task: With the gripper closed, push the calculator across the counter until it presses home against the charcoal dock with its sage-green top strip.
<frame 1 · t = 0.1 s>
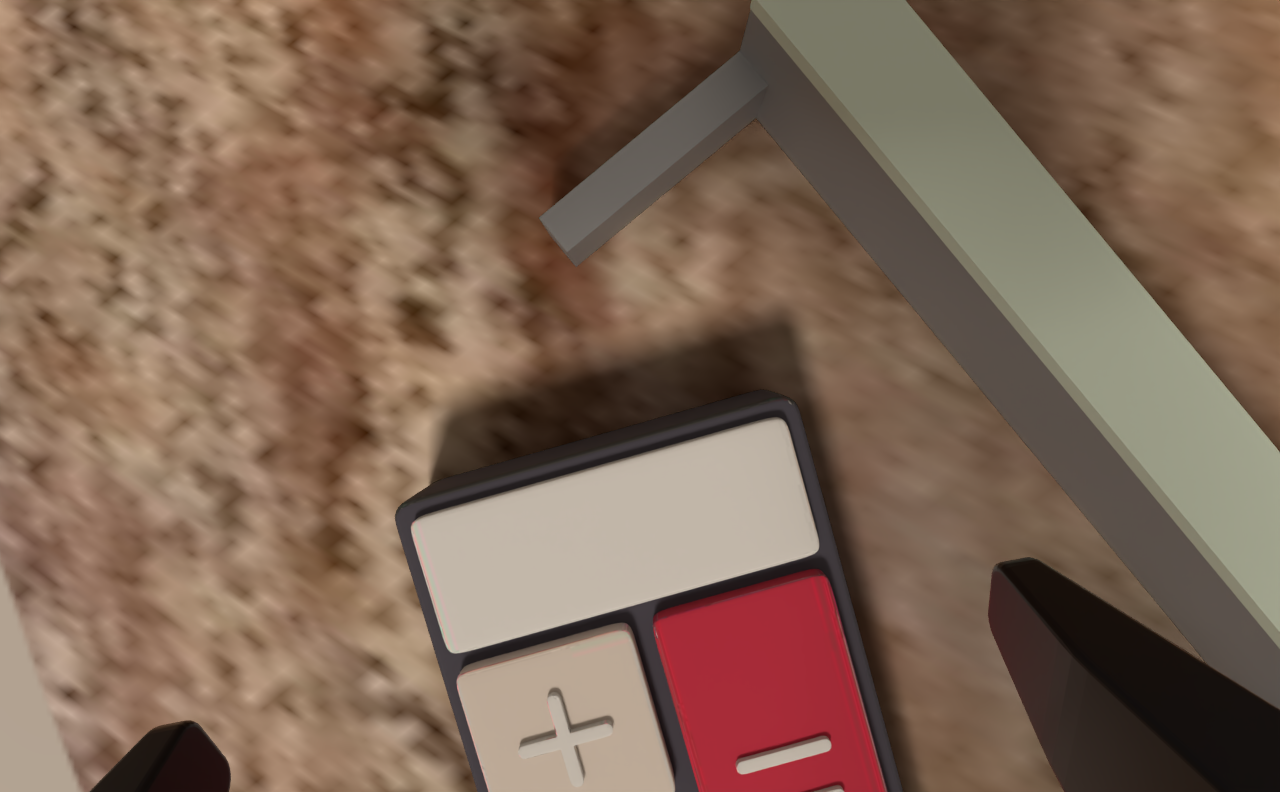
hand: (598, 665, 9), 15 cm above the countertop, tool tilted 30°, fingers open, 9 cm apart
calculator: (665, 669, 24), on the countertop
dock: (1039, 395, 23), on the countertop
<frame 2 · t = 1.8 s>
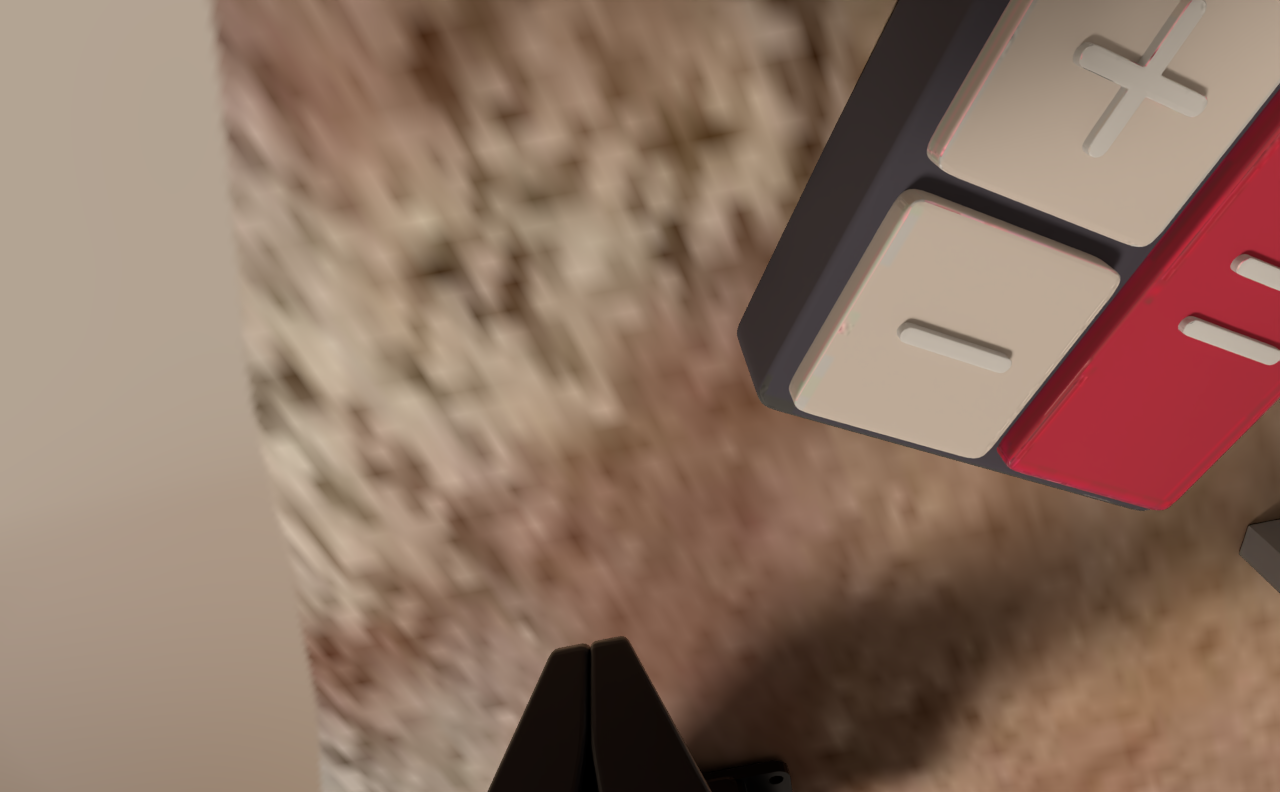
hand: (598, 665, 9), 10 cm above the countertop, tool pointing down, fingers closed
calculator: (1097, 106, 17), on the countertop
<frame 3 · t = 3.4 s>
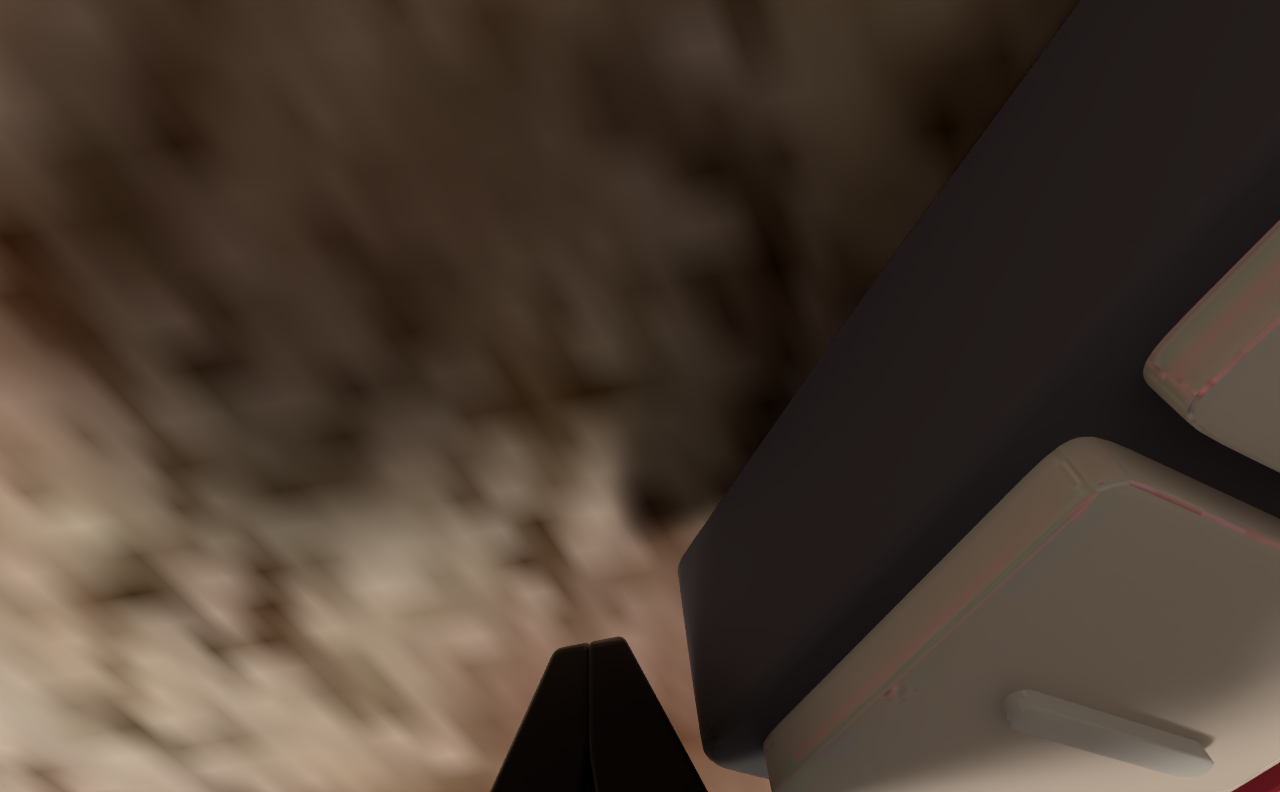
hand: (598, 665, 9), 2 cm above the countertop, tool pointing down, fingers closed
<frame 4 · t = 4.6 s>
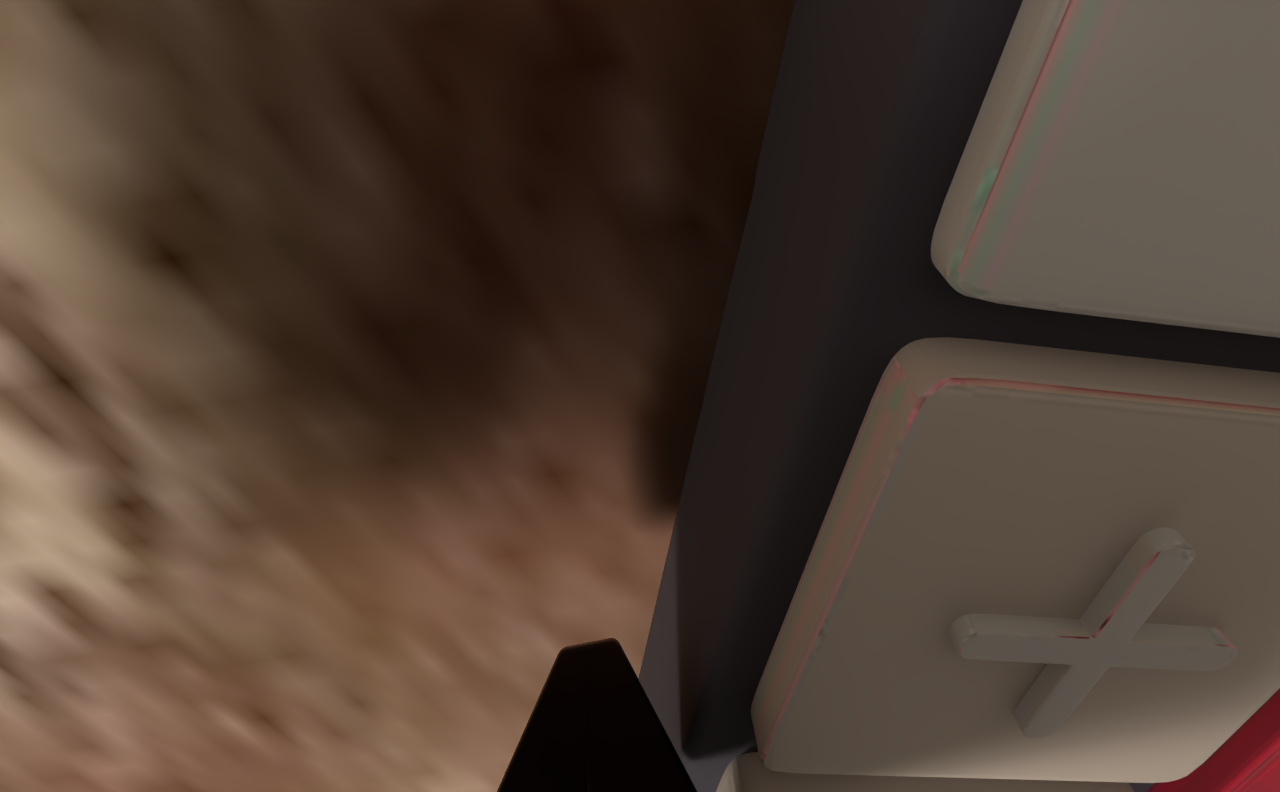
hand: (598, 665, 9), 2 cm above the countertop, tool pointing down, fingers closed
calculator: (1082, 426, 11), on the countertop, touching dock, gripper
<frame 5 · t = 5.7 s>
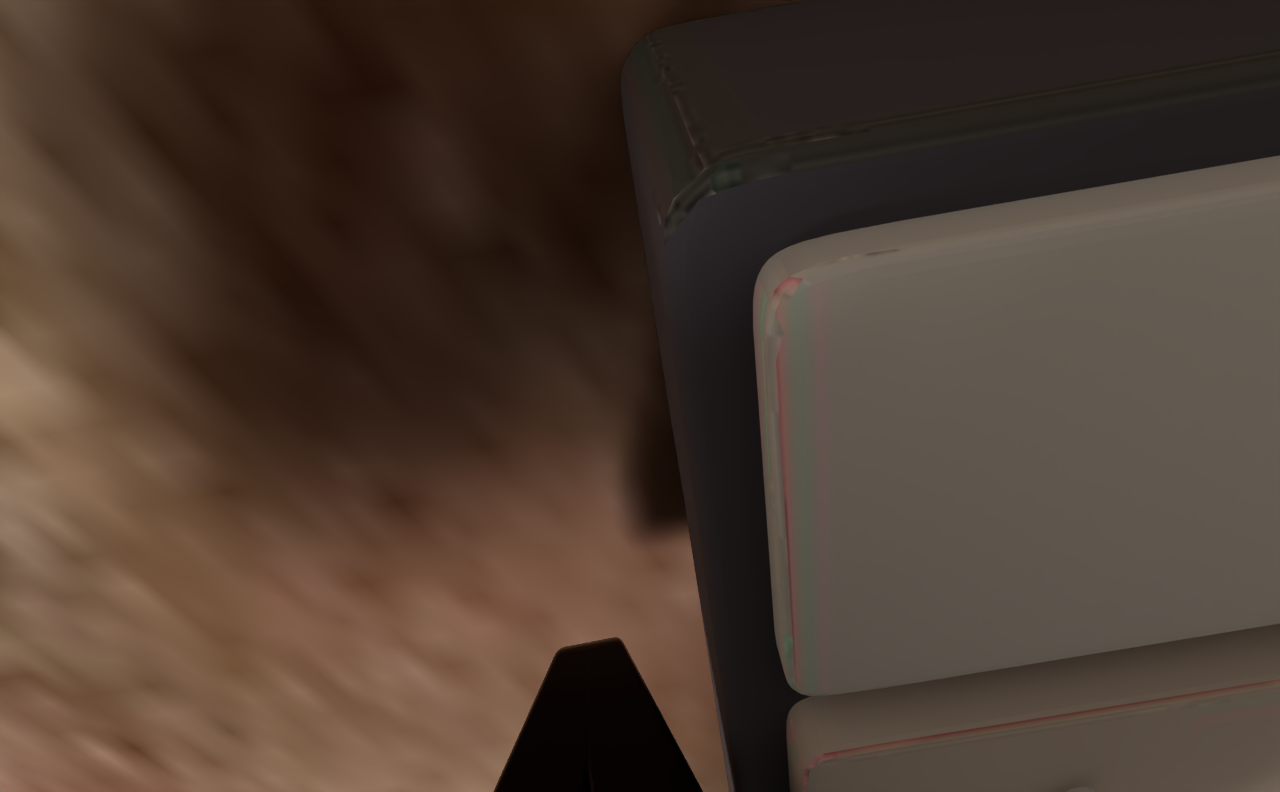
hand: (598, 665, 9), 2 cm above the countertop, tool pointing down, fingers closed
calculator: (1083, 539, 11), on the countertop, touching gripper
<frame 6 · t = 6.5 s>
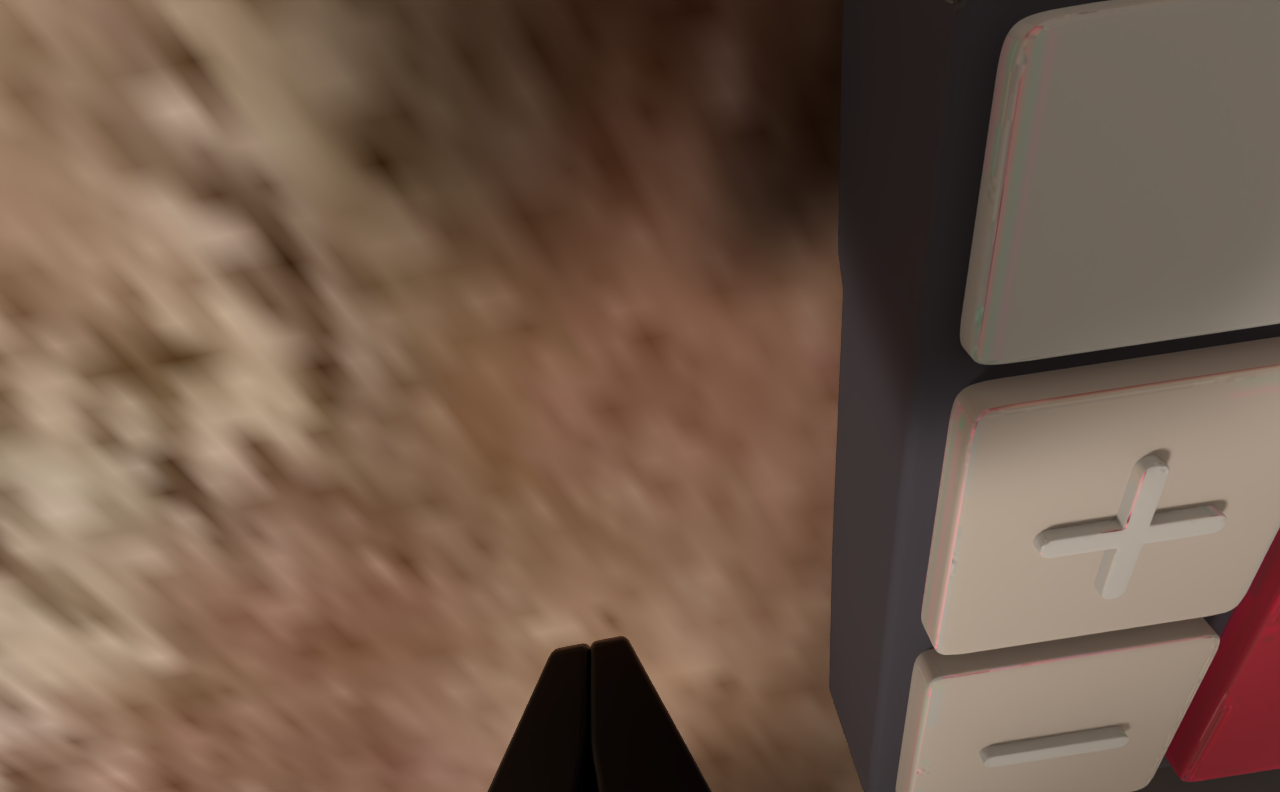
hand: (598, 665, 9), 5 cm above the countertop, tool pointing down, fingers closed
calculator: (1122, 371, 14), on the countertop
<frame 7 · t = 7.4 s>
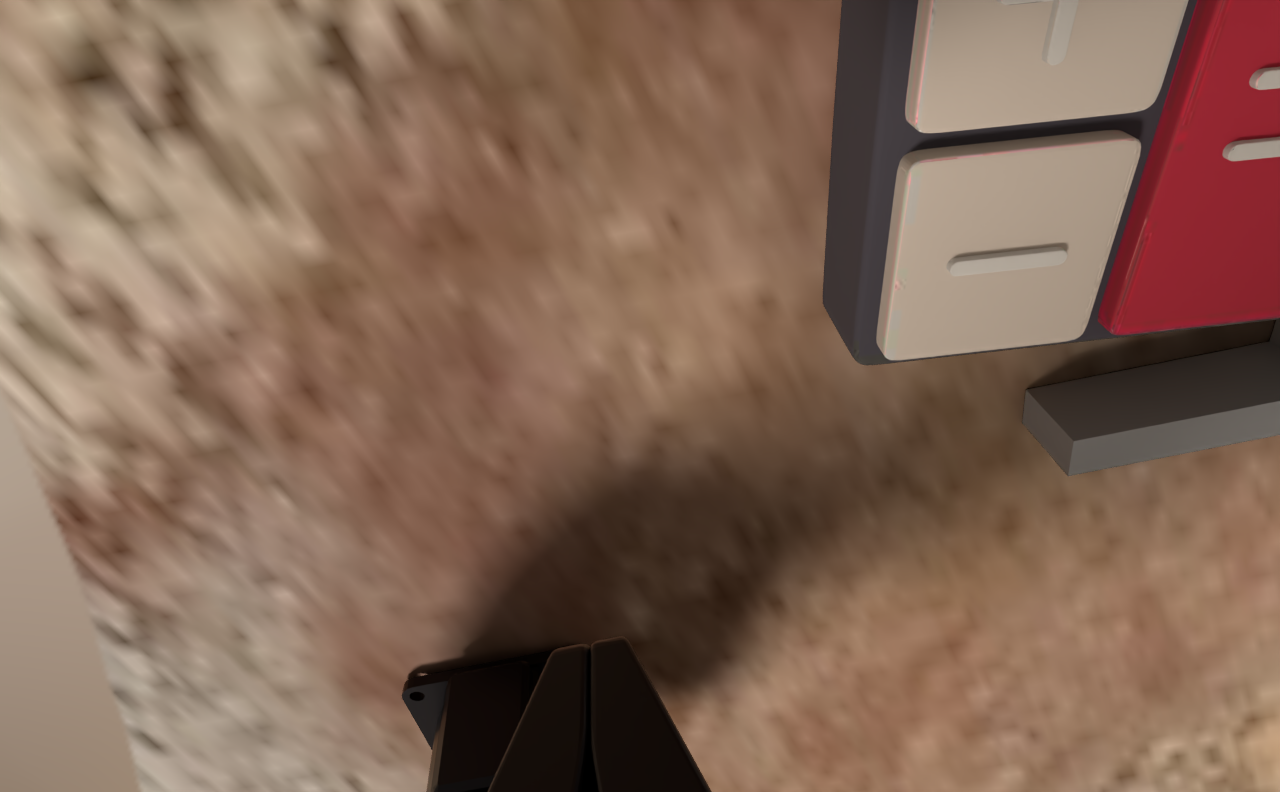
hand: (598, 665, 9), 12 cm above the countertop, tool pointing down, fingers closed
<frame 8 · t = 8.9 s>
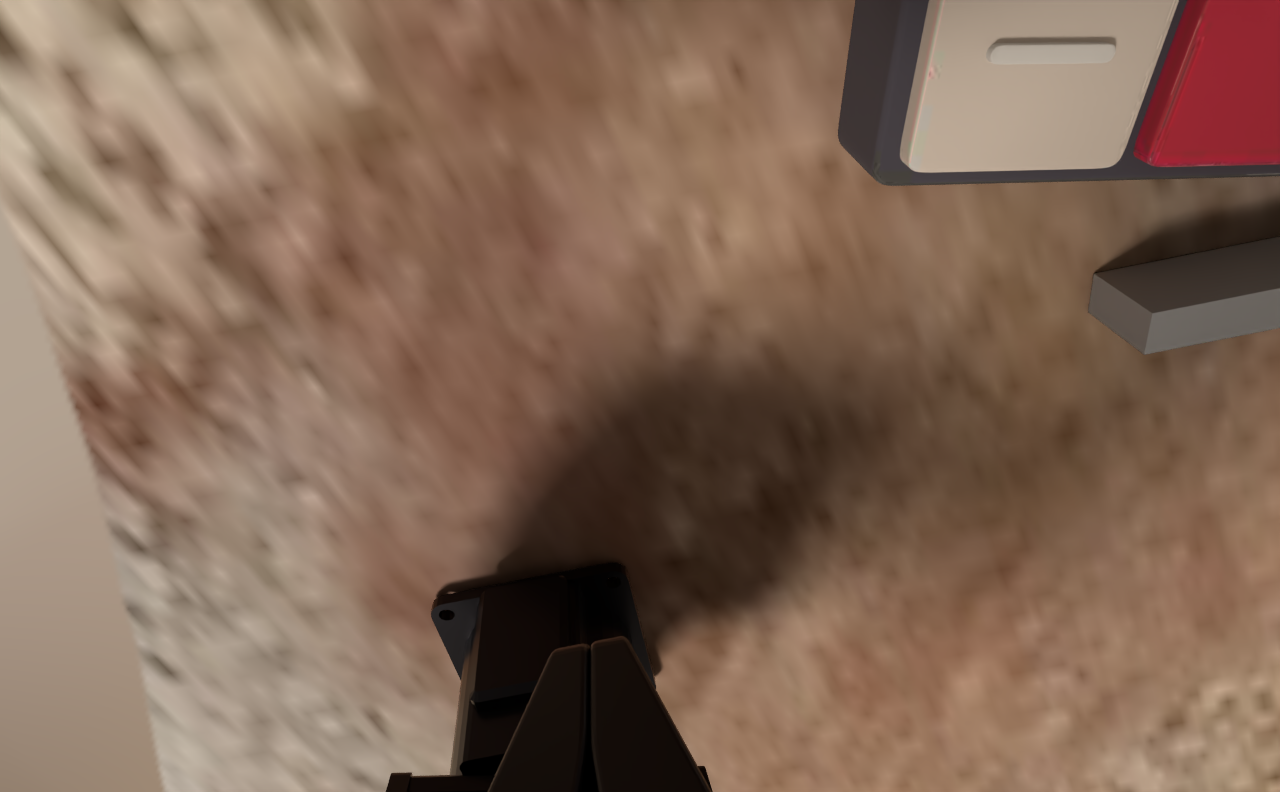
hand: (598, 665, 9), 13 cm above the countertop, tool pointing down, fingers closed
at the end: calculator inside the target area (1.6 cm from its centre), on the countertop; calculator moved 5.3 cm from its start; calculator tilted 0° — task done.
